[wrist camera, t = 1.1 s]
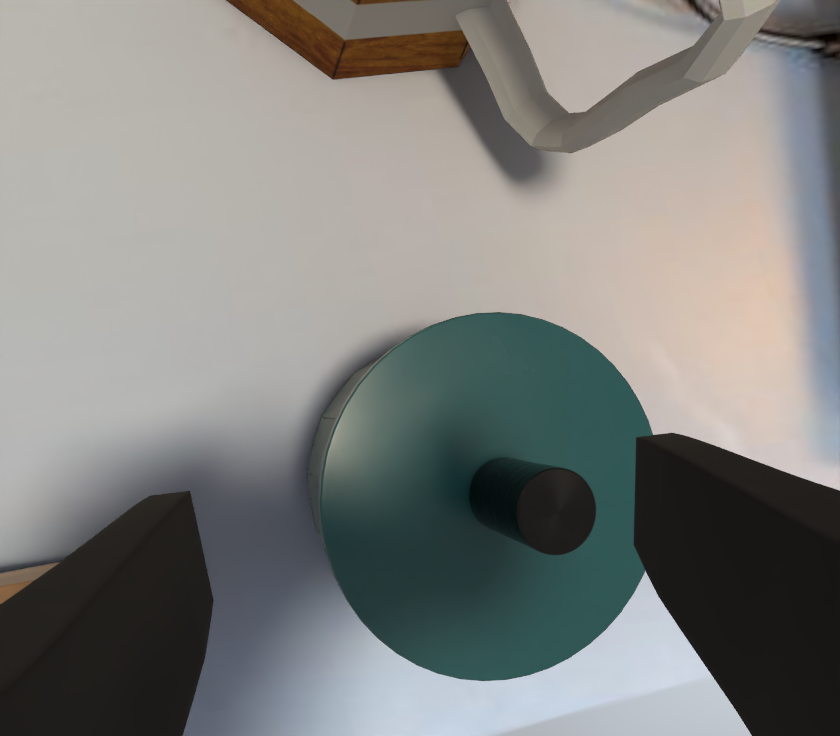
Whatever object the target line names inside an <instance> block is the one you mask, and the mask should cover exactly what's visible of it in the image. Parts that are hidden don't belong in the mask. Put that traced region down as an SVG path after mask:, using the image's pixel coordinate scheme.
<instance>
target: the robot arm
mask: <svg viewBox="0 0 840 736" xmlns="http://www.w3.org/2000/svg"><path fill="white" fill-rule="evenodd" d="M634 547H635V549H636V551H637V553H638V555H639V558H640V560H641V562H642V564H643V566H644V568H645V570H646V573H647V575H648V576H649V578H650V580H651V582H652V584H653V586H654V588H655V590H656V592H657V594H658V596H659V598H660V599H661V601H662V602H663V604H664V605H665V607H666V608H667V610H668V611H669V613H670V614H671V616H672V617H673V619H674V620H675V622H676V623H677V625H678V626H679V628H680V629H681V631H682V632H683V634H684V635H685V637H686V638H687V639H688V641H689V642H690V644H691V645H692V647H693V648H694V650H695V651H696V653H697V654H698V656H699V657H700V658H701V660H702V661H703V663H704V664H705V666H706V667H707V669H708V670H709V672H710V673H711V674H712V676H713V677H714V679H715V680H716V682H717V683H718V685H719V686H720V688H721V689H722V690H723V692H724V693H725V695H726V696H727V698H728V699H729V701H730V702H731V704H732V705H733V706H734V708H735V709H736V711H737V712H738V714H739V716H740V717H741V719H742V721H743V722H744V724H745V725H746V727H747V728H748V730H749V731H750V733H751V735H752V736H840V491H839V490H836V489H833V488H830V487H827V486H824V485H821V484H817V483H814V482H812V481H809V480H806V479H803V478H800V477H797V476H794V475H792V474H789V473H786V472H783V471H781V470H778V469H775V468H773V467H770V466H767V465H764V464H762V463H759V462H757V461H754V460H751V459H749V458H746V457H743V456H741V455H738V454H735V453H733V452H730V451H727V450H725V449H722V448H719V447H717V446H714V445H711V444H708V443H705V442H703V441H700V440H697V439H694V438H691V437H687V436H684V435H680V434H675V433H667V434H659V435H651V436H642V437H636V466H635V507H634ZM212 607H213V596H212V592H211V587H210V582H209V578H208V573H207V568H206V564H205V559H204V554H203V550H202V545H201V540H200V536H199V531H198V526H197V521H196V517H195V512H194V507H193V503H192V498H191V493H190V491H186V492H177V493H169V494H161V495H153V496H149V497H148V498H146V499H144V500H142V501H141V502H139V503H138V504H136V505H135V506H134V507H132V508H131V509H129V510H128V511H127V512H125V513H124V514H123V515H121V516H120V517H119V518H117V519H116V520H115V521H114V522H112V523H111V524H110V525H108V526H107V527H106V528H104V529H103V530H102V531H101V532H99V533H98V534H97V535H95V536H94V537H93V538H91V539H90V540H89V541H87V542H86V543H85V544H84V545H82V546H81V547H80V548H78V549H77V550H76V551H74V552H73V553H72V554H70V555H69V556H68V557H67V558H65V559H64V560H63V561H61V562H60V563H58V564H57V565H56V566H54V567H53V568H51V569H50V570H49V571H47V572H46V573H44V574H43V575H41V576H40V577H39V578H37V579H36V580H34V581H33V582H32V583H30V584H29V585H27V586H26V587H24V588H23V589H22V590H20V591H19V592H17V593H16V594H14V595H13V596H12V597H10V598H9V599H7V600H6V601H5V602H3V603H2V604H0V736H183V732H184V729H185V725H186V722H187V719H188V715H189V712H190V709H191V705H192V702H193V698H194V695H195V691H196V688H197V684H198V681H199V677H200V674H201V670H202V667H203V663H204V659H205V654H206V648H207V642H208V636H209V629H210V621H211V614H212Z"/></svg>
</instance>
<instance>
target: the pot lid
mask: <svg viewBox="0 0 840 736" xmlns="http://www.w3.org/2000/svg"><path fill="white" fill-rule="evenodd" d="M651 435H653V434H652V430H651V427H650V424H649V421H648V419H647V417H646V415H645V412H644V410H643V408H642V406H641V404H640V402H639V400H638V398H637V397H636V395H635V393H634V392H633V390H632V389H631V387H630V385H629V384H628V382H627V381H626V380H625V378H624V377H623V376H622V375H621V373H620V372H619V371H618V370H617V369H616V367H615V366H614V365H613V364H612V363H611V362H610V361H609V360H608V359H607V358H606V357H605V356H604V355H603V354H602V353H601V352H599V351H598V350H597V349H596V348H594V347H593V346H592V345H590V344H589V343H588V342H586V341H585V340H584V339H582V338H581V337H579V336H577V335H576V334H574V333H572V332H570V331H568V330H566V329H565V328H563V327H561V326H558V325H555V324H553V323H550V322H548V321H545V320H542V319H539V318H534V317H530V316H526V315H522V314H512V313H501V312H494V313H476V314H471V315H465V316H460V317H455V318H452V319H449V320H446V321H443V322H440V323H437V324H434V325H431V326H429V327H427V328H425V329H423V330H421V331H419V332H417V333H415V334H413V335H411V336H409V337H407V338H406V339H404V340H403V341H402V342H400V343H399V344H397V345H396V346H394V347H393V348H391V349H390V350H389V351H388V352H386V353H385V354H384V355H383V356H382V357H381V358H380V359H379V360H378V361H376V362H375V363H374V364H373V365H372V366H371V367H370V368H369V370H368V371H367V372H366V373H365V374H364V376H363V377H362V378H361V379H360V380H359V381H358V383H357V384H356V385H355V387H354V388H353V390H352V391H351V393H350V394H349V396H348V398H347V399H346V401H345V402H344V404H343V405H342V408H341V410H340V412H339V414H338V416H337V418H336V420H335V422H334V424H333V426H332V429H331V432H330V435H329V438H328V441H327V444H326V447H325V451H324V455H323V461H322V466H321V471H320V477H319V495H318V507H319V521H320V529H321V534H322V539H323V544H324V549H325V553H326V556H327V558H328V561H329V564H330V567H331V570H332V573H333V575H334V577H335V579H336V581H337V583H338V585H339V587H340V589H341V591H342V593H343V595H344V597H345V598H346V600H347V601H348V603H349V604H350V606H351V607H352V609H353V610H354V611H355V613H356V614H357V616H358V617H359V619H360V620H361V621H362V622H363V623H364V624H365V625H366V626H367V628H368V629H369V630H370V631H371V632H372V633H373V634H374V635H375V636H376V637H377V638H378V639H379V640H380V641H382V642H383V643H384V644H385V645H387V646H388V647H389V648H390V649H392V650H393V651H394V652H395V653H397V654H399V655H400V656H402V657H404V658H405V659H407V660H409V661H411V662H412V663H414V664H416V665H418V666H420V667H423V668H425V669H428V670H430V671H433V672H435V673H438V674H442V675H446V676H450V677H454V678H459V679H466V680H478V681H492V680H507V679H512V678H517V677H522V676H527V675H531V674H534V673H536V672H539V671H542V670H545V669H548V668H550V667H552V666H554V665H556V664H558V663H560V662H562V661H564V660H566V659H568V658H570V657H572V656H573V655H574V654H576V653H577V652H579V651H580V650H582V649H583V648H585V647H586V646H588V645H589V644H590V643H591V642H592V641H593V640H595V639H596V638H597V637H598V636H599V635H600V634H601V633H602V632H604V631H605V630H606V629H607V628H608V626H609V625H610V624H611V623H612V622H613V621H614V620H615V618H616V617H617V616H618V615H619V614H620V613H621V611H622V610H623V608H624V607H625V605H626V604H627V602H628V601H629V600H630V598H631V597H632V595H633V594H634V592H635V590H636V588H637V586H638V584H639V582H640V580H641V578H642V576H643V575H644V572H645V568H644V566H643V564H642V562H641V560H640V558H639V555H638V553H637V551H636V549H635V547H634V507H635V466H636V437H642V436H651Z"/></svg>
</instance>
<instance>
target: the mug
mask: <svg viewBox="0 0 840 736" xmlns="http://www.w3.org/2000/svg"><path fill="white" fill-rule="evenodd" d="M227 1H229V2H230V3H231V4H233V5H234V6H235V7H237V8H238V9H239V10H241V11H242V12H244V13H245V14H246V15H248V16H249V17H250V18H252V19H253V20H254V21H256V22H257V23H258V24H260V25H261V26H262V27H264V28H265V29H266V30H268V31H269V32H270V33H272V34H273V35H274V36H276V37H277V38H278V39H280V40H281V41H283V42H284V43H285V44H287V45H288V46H289V47H291V48H292V49H293V50H295V51H296V52H297V53H299V54H300V55H301V56H303V57H304V58H305V59H307V60H308V61H309V62H311V63H312V64H313V65H315V66H316V67H317V68H319V69H320V70H322V71H323V72H324V73H326V74H327V75H328V76H330V77H331V78H332V79H339V78H349V77H359V76H369V75H379V74H389V73H399V72H409V71H420V70H430V69H440V68H450V67H458V65H459V64H460V62H461V61H462V59H463V58H464V56H465V55H466V53H467V52H468V50H469V49H470V47H471V48H472V50H473V52H474V54H475V56H476V58H477V60H478V62H479V64H480V66H481V68H482V70H483V72H484V74H485V76H486V78H487V80H488V83H489V85H490V87H491V89H492V92H493V94H494V96H495V99H496V101H497V103H498V106H499V108H500V110H501V112H502V115H503V117H504V119H505V120H506V121H507V122H508V123H509V124H510V125H511V126H512V127H513V128H514V129H515V130H516V131H517V132H518V133H519V134H520V135H521V136H522V137H523V139H524V140H525V141H526V142H527V143H528V144H529V145H530V146H532V147H534V148H535V149H537V150H544V151H554V152H565V153H573V152H576V151H578V150H581V149H584V148H587V147H589V146H591V145H593V144H595V143H597V142H599V141H601V140H603V139H605V138H607V137H609V136H611V135H613V134H615V133H617V132H619V131H621V130H622V129H624V128H625V127H627V126H628V125H630V124H631V123H633V122H634V121H636V120H638V119H639V118H641V117H642V116H644V115H645V114H647V113H648V112H650V111H651V110H653V109H654V108H656V107H657V106H659V105H661V104H663V103H665V102H667V101H669V100H671V99H673V98H675V97H678V96H680V95H682V94H684V93H686V92H688V91H690V90H692V89H694V88H696V87H698V86H701V85H703V84H705V83H707V82H709V81H711V80H713V79H715V78H717V77H719V76H721V75H724V74H725V73H726V72H727V71H728V70H729V69H730V68H731V66H732V65H733V64H734V63H735V62H736V61H737V60H738V58H739V57H740V56H741V55H742V53H743V52H744V51H745V49H746V48H747V46H748V45H749V44H750V42H751V41H752V39H753V38H754V37H755V35H756V34H757V32H758V31H759V30H760V28H761V27H762V25H763V24H764V23H765V21H766V20H767V18H768V17H769V16H770V14H771V13H772V11H773V10H774V9H775V7H776V6H777V4H778V3H779V2H780V0H719V4H720V9H721V12H720V13H719V15H718V16H717V17H716V19H715V20H714V21H713V22H712V24H711V25H710V26H709V27H708V29H707V30H706V31H705V32H704V34H703V35H702V36H701V37H700V39H699V40H698V41H697V42H696V44H695V45H694V46H692V47H690V48H688V49H685V50H683V51H681V52H679V53H677V54H675V55H673V56H671V57H669V58H666V59H664V60H662V61H660V62H658V63H656V64H654V65H652V66H649V67H647V68H645V69H643V70H641V71H639V72H637V73H636V74H635V75H633V76H632V77H631V78H629V79H628V80H627V81H626V82H624V83H623V84H622V85H620V86H619V87H618V88H616V89H615V90H614V91H613V92H611V93H610V94H609V95H607V96H606V97H605V98H603V99H602V100H601V101H599V102H598V103H597V104H595V105H594V106H593V107H591V108H590V109H589V110H587V111H586V112H581V113H568V112H567V111H566V110H565V109H564V108H563V107H562V106H561V105H560V104H559V103H558V102H557V101H556V100H555V99H554V98H553V97H552V96H551V95H550V94H549V93H548V92H547V90H546V88H545V85H544V83H543V80H542V78H541V75H540V73H539V70H538V68H537V65H536V63H535V60H534V58H533V55H532V53H531V50H530V48H529V46H528V44H527V42H526V40H525V38H524V36H523V34H522V32H521V30H520V28H519V26H518V24H517V21H516V19H515V17H514V15H513V13H512V11H511V9H510V7H509V5H508V3H507V1H506V0H227Z"/></svg>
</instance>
